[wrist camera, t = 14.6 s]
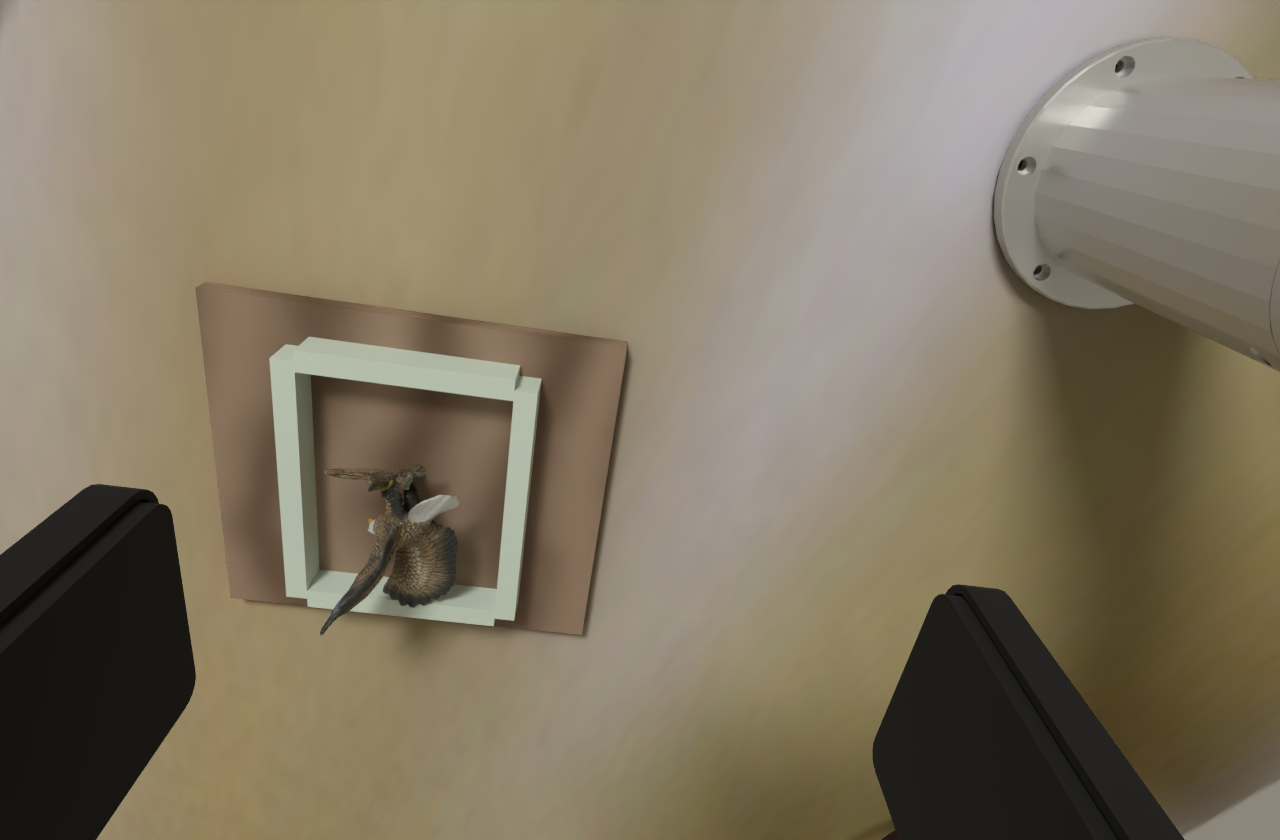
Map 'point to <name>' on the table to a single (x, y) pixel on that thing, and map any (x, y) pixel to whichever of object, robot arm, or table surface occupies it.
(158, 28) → the table surface
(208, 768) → the table surface
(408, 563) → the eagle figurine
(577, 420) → the jig board
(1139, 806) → the robot arm
